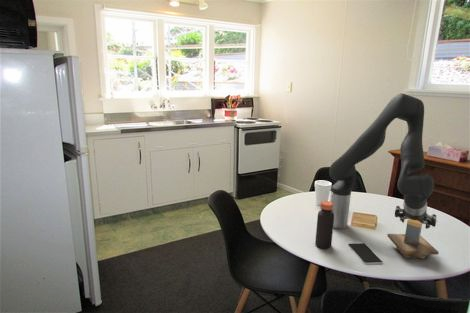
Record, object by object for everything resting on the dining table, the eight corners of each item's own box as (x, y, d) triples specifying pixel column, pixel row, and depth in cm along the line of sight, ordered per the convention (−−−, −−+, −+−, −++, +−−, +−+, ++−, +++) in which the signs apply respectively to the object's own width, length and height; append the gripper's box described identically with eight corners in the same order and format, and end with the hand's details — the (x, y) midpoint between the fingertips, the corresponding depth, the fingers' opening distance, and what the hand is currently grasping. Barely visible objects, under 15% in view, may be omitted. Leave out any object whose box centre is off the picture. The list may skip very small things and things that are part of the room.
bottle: (313, 241, 139) (317, 199, 134) (328, 241, 138) (332, 200, 134) (317, 249, 132) (321, 206, 127) (332, 249, 132) (337, 206, 127)
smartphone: (364, 242, 137) (383, 261, 122) (364, 245, 137) (383, 264, 123) (347, 243, 136) (364, 262, 122) (347, 246, 136) (363, 265, 122)
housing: (417, 246, 126) (421, 224, 124) (403, 242, 129) (407, 220, 127) (419, 241, 130) (423, 220, 128) (405, 238, 133) (409, 216, 131)
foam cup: (311, 200, 185) (312, 180, 182) (325, 200, 186) (327, 180, 183) (316, 207, 176) (318, 185, 173) (332, 206, 177) (334, 185, 174)
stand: (401, 261, 124) (402, 250, 123) (386, 243, 138) (387, 233, 137) (436, 262, 124) (438, 251, 123) (418, 244, 137) (419, 234, 136)
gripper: (439, 202, 112) (437, 220, 124) (396, 193, 121) (398, 210, 132) (435, 220, 109) (433, 237, 121) (391, 209, 118) (393, 226, 129)
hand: (414, 223), depth 127 cm, fingers open, 8 cm apart
